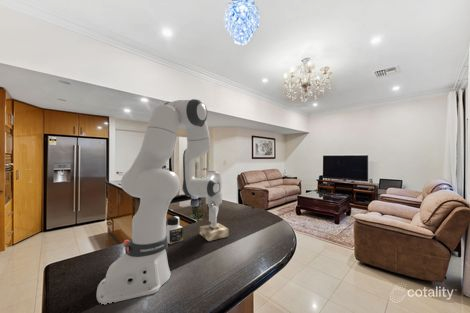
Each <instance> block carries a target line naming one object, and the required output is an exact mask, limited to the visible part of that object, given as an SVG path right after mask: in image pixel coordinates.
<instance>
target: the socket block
mask: <svg viewBox="0 0 470 313" xmlns="http://www.w3.org/2000/svg"><path fill="white" fill-rule="evenodd" d="M229 230H230V229H229V228H228V227H226V226H224V225H223V224H221V223H219V222H217V229H214V230H211V224H207V225H202V226H199V235H200V236H202V238H204V239H205V240H207V241H208V242H211V241H214V240H218V239H224V238H227V237H230V236H229V235H230V234H229V232H230V231H229Z"/></svg>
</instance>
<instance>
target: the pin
mask: <svg viewBox="0 0 470 313" xmlns="http://www.w3.org/2000/svg"><path fill="white" fill-rule="evenodd" d="M217 220H218V218H216V221H215V227H212V222H210V225H211V230H214V229H217V223H218V221H217Z"/></svg>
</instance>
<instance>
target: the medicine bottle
mask: <svg viewBox="0 0 470 313" xmlns="http://www.w3.org/2000/svg"><path fill="white" fill-rule="evenodd" d="M183 232H184V230H183V226H182V225H180V217H179V216H169V217H168V218H166V236H167V240H168V244H169V245H173V244H175V243H178V242H182V241H183V240H184V238H183V236H184V234H183Z"/></svg>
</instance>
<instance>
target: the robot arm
mask: <svg viewBox="0 0 470 313" xmlns="http://www.w3.org/2000/svg"><path fill="white" fill-rule="evenodd" d="M207 117H208V109H207V106H206V104H205V103H204V102H203V101H202V100H200V99H196V98H195V99H194V98H193V99H178V100H174V101H168V102H165V103H162V104H159V105H157V106H156V107H155V108H154V109H153V111H152V113H151V116H150V118H149V120H148V123H147V125H146V128H145V129H146V130H145V134H144V137H143V140H142V143H141V147H140V149H139V152H138V154H137V155H136V158H135V159H134V161H133V162H132V165H131V166H130V168H129V169H128V170H127V171H126V172H125V173H124V174H123V176H122V178H121V180H120V185H121V188H122V190H123V191H124V192H125V193H126V194H127V195H130V196H131V197H133V198H139V200H140V202H139V206H138V209H137V211H136V213H135V214H134V215H133V217H132V220H131V239H130V240H129V239H124V241H123V242H122V244H123V247H124V252H123V254H122V255H121V256H120V257H118V258H117V259H116V260H115V261H114V262H112V263H111V264H110V265H109V267H108V269H107V270H106V274H105V277H104V278H103V279H102V280H101V281H100V283H99V284H98V285H97V289H96V293H95V294H96V300H97V302H98V303H99V304H100V303H101V304H100V305H102V304H104V305H108V304H107V303H109V304H113V303H112V302H114V303H118V302H122V301H126V300H131V299H135V298H139V297H144V296H149V295H152V294H156V293H157V292H158V291H159V290H160V288H161V286H163V285H164V284H165V283H167V282H168V281H169V279H170V278H171V274H172V273H171V270H170V267H169V262H168V255H167V254H168V253H167V252H168V246H169V245H168V244H169V243H168V240H167V236H166V226H167V215H168V214H167V213H168V210H169V206H170V203H171V202H172V200H173V199H174V198H175V197H177V195H178V193H179V192H180V189H181V182H180V177H179V176H178V175H177V173H175V172H174V171H171V170H168V169H166V168H163V167H164V166H165V164H166V163H167V161H168V160H170V159H171V158H172V156H173V153H174V150H175V145H176V142H177V136H178V132H179V127H184V128H185V134H186V141H187V142H186V143H187V144H186V149H184V151H183V155H182V175H183V176H182V177H183V179H182V180H183V181H182V192H183V194H184V195H185V196H186V197H188V198H195V197H196V198H197V197H198V198H205V204H206V205H207V207H208V208H209V209H208V222H210V223H211V222H212V227H215V221H216V219H218V218H217V217H218V213H219V208H220V204H222V203H223V201H222V200H223V198H222V197H223V196H222V195H223V193H222V187H223V185H222V184H223V182H222V175H221V172H220V171H217V170H208V171H207V172H206V176H205V177H204V178H203V177H202V178H201V177H195V174H194V172H195V170H194V168H195V167H194V164H195V163H194V162H195V160H197V159H199V158H201V157H203V156H205V155H206V154H208V153H209V151H210V150H211V146H212V145H211V144H212V142H211V135H210V130H209V126H208V122H207Z"/></svg>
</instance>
